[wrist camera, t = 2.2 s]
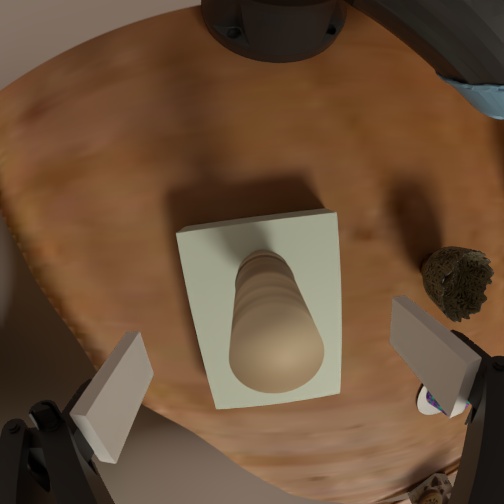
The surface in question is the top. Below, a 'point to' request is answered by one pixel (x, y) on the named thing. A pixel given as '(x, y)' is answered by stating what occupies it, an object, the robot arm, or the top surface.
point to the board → (223, 293)
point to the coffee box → (432, 490)
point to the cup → (456, 280)
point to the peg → (272, 327)
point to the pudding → (426, 407)
